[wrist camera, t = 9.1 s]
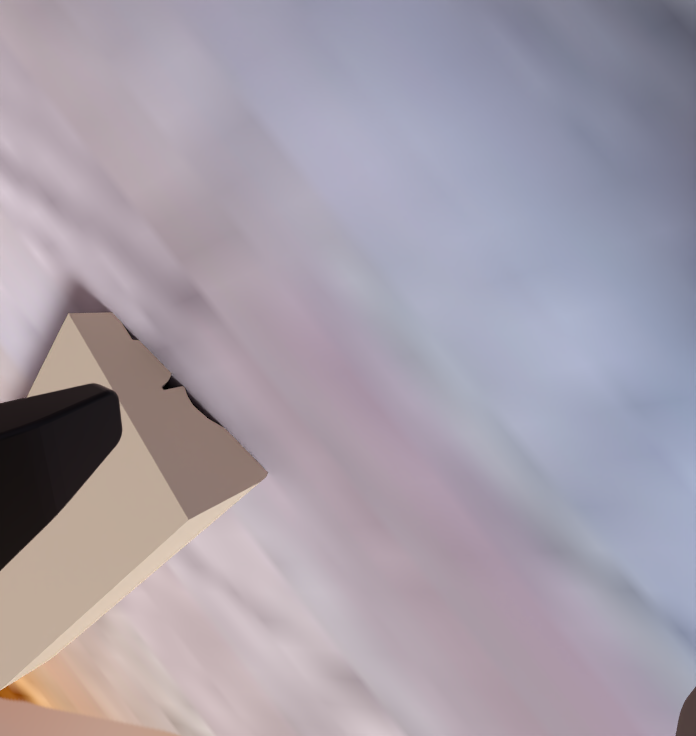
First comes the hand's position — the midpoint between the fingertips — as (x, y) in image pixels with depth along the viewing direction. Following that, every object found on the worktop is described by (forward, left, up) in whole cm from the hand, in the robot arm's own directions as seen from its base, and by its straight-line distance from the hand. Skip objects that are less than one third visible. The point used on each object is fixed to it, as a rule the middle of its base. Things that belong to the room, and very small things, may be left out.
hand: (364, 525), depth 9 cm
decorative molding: (+23, +24, -13) cm, 36 cm away
